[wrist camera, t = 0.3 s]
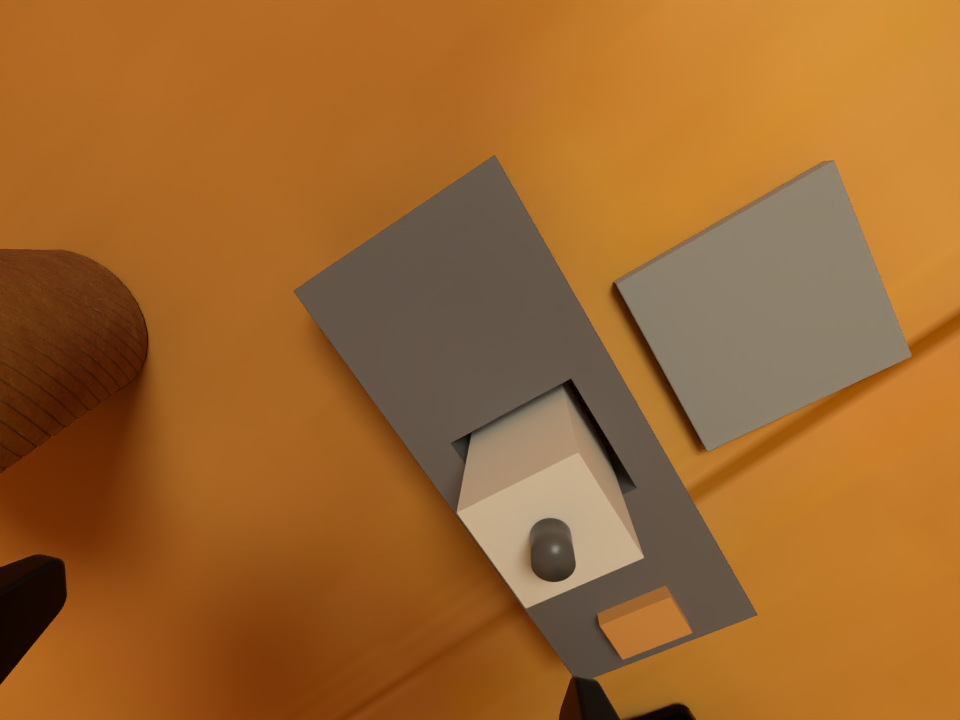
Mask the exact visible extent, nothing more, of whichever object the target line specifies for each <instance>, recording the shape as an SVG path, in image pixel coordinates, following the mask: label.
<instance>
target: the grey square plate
mask: <svg viewBox="0 0 960 720" xmlns="http://www.w3.org/2000/svg"><path fill="white" fill-rule="evenodd" d="M614 283H615V285H616V287H617V289H618V291H619V292H620V294H621V296H622V298H623V300H624V302H625V303H626V305H627V307H628V309H629V311H630V313H631V314H632V316H633V318H634V320H635V322H636V324H637V325H638V327H639V329H640V331H641V333H642V335H643V336H644V338H645V340H646V342H647V344H648V346H649V347H650V349H651V351H652V353H653V355H654V357H655V358H656V360H657V362H658V364H659V366H660V368H661V369H662V371H663V373H664V375H665V377H666V379H667V380H668V382H669V384H670V386H671V388H672V390H673V391H674V393H675V395H676V397H677V399H678V401H679V402H680V404H681V406H682V408H683V410H684V412H685V413H686V415H687V417H688V419H689V421H690V423H691V424H692V426H693V428H694V430H695V432H696V434H697V435H698V437H699V439H700V441H701V443H702V445H703V446H704V447H705V449H706V450H707V451H710V450H712V449H714V448H717V447H719V446H721V445H723V444H725V443H727V442H729V441H731V440H734V439H736V438H738V437H740V436H742V435H744V434H746V433H749V432H751V431H753V430H755V429H757V428H759V427H761V426H764V425H766V424H768V423H770V422H772V421H774V420H776V419H779V418H781V417H783V416H785V415H787V414H789V413H791V412H794V411H796V410H798V409H800V408H802V407H804V406H806V405H808V404H811V403H813V402H815V401H817V400H819V399H821V398H823V397H826V396H828V395H830V394H832V393H834V392H836V391H838V390H841V389H843V388H845V387H847V386H849V385H851V384H853V383H856V382H858V381H860V380H862V379H864V378H866V377H868V376H871V375H873V374H875V373H877V372H879V371H881V370H883V369H885V368H888V367H890V366H892V365H894V364H896V363H898V362H900V361H903V360H905V359H907V358H909V357H911V356H912V355H911V353H910V350H909V348H908V345H907V343H906V340H905V338H904V335H903V333H902V330H901V328H900V325H899V323H898V320H897V318H896V315H895V313H894V310H893V308H892V305H891V303H890V300H889V298H888V295H887V293H886V290H885V288H884V285H883V283H882V280H881V278H880V275H879V273H878V270H877V268H876V265H875V263H874V260H873V257H872V255H871V252H870V250H869V247H868V245H867V242H866V240H865V237H864V235H863V232H862V230H861V227H860V225H859V222H858V220H857V217H856V215H855V212H854V210H853V207H852V205H851V202H850V200H849V197H848V195H847V192H846V190H845V187H844V185H843V182H842V180H841V177H840V175H839V172H838V170H837V167H836V165H835V162H834V160H832V161H823V162H821V163H820V164H818V165H816V166H814V167H813V168H811V169H809V170H808V171H806V172H804V173H802V174H801V175H799V176H797V177H795V178H794V179H792V180H790V181H788V182H787V183H785V184H783V185H781V186H780V187H778V188H776V189H774V190H773V191H771V192H769V193H767V194H766V195H764V196H762V197H760V198H759V199H757V200H755V201H753V202H752V203H750V204H748V205H746V206H745V207H743V208H741V209H739V210H738V211H736V212H734V213H732V214H731V215H729V216H727V217H725V218H724V219H722V220H720V221H718V222H717V223H715V224H713V225H711V226H710V227H708V228H706V229H705V230H703V231H701V232H699V233H698V234H696V235H694V236H692V237H691V238H689V239H687V240H685V241H684V242H682V243H680V244H678V245H677V246H675V247H673V248H671V249H670V250H668V251H666V252H664V253H663V254H661V255H659V256H657V257H656V258H654V259H652V260H650V261H649V262H647V263H645V264H643V265H642V266H640V267H638V268H636V269H635V270H633V271H631V272H629V273H628V274H626V275H624V276H622V277H621V278H619V279H617V280H615V281H614Z"/></svg>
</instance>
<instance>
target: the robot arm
mask: <svg viewBox="0 0 960 720" xmlns="http://www.w3.org/2000/svg"><path fill="white" fill-rule="evenodd" d="M66 597H67V588H66V574H65V564H64V562H63V561H62V560H61V559H59V558H55V557H51V556H46V555H33V556H30V557H27V558H24V559H22V560H19V561H16V562H13V563H11V564H8V565H5V566H2V567H0V685H1V683H2V682H3V681H4V680H5V678H6V677H7V676H8V675H9V674H10V672H11V671H12V670H13V669H14V667H15V666H16V665H17V664H18V662H19V661H20V660H21V659H22V658H23V656H24V655H25V654H26V653H27V651H28V650H29V649H30V648H31V646H32V645H33V644H34V643H35V642H36V640H37V639H38V638H39V637H40V635H41V634H42V633H43V632H44V631H45V629H46V628H47V627H48V626H49V624H50V623H51V622H52V621H53V619H54V618H55V617H56V616H57V615H58V613H59V612H60V611H61V609H62V607H63V606H64V603H65V601H66ZM559 720H620V718H619V717H618V715H617V713H616V711H615V710H614V708H613V706H612V705H611V703H610V701H609V699H608V698H607V696H606V694H605V693H604V691H603V689H602V687H601V686H600V684H599V683H598V682H597V681H596V680H595V679H592V678H587V677H583V676H578V675H575V676H573V677H572V678H571V680H570V683H569V686H568V689H567V692H566V695H565V698H564V701H563V703H562V706H561V710H560V715H559ZM636 720H696V719H695V717H694V716H693V714H692V713H691V711H690V710H689V708H688V707H686V706H684V705H676V706H673V707H670V708H667V709H664V710H661V711H658V712H656V713H653V714H650V715H647V716H644V717H642V718H639V719H636Z"/></svg>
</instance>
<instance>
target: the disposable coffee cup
mask: <svg viewBox="0 0 960 720" xmlns="http://www.w3.org/2000/svg"><path fill="white" fill-rule="evenodd" d="M146 350H147V331H146V327H145V323H144V319H143V316H142V314H141V312H140V309H139V307H138V305H137V303H136V301H135V300H134V298H133V297H132V295H131V293H130V292H129V290H128V289H127V288H126V287H125V286H124V285H123V283H122V282H121V281H120V280H119V279H118V278H117V277H116V276H115V275H114V274H112V273H111V272H110V271H109V270H108V269H106V268H105V267H104V266H102V265H100V264H98V263H97V262H95V261H93V260H91V259H89V258H88V257H85V256H82V255H79V254H76V253H74V252H70V251H64V250H28V249H0V473H2V472H3V471H4V470H5V469H6V467H10V466H11V465H13V464H14V463H16V462H17V461H19V460H20V459H21V458H22V456H26V455H27V454H28V453H30V452H31V451H32V450H34V449H35V448H36V447H37V446H40V445H42V444H43V443H44V442H45V441H47V440H48V439H49V438H51V436H54V435H56V434H57V433H59V432H60V431H61V430H62V429H63V428H64V427H67V426H68V425H70V424H71V423H72V422H73V421H75V420H76V418H80V417H81V416H82V415H84V414H85V413H86V412H87V411H88V410H91V409H93V408H94V407H95V406H96V405H98V404H99V402H102V401H104V400H105V399H106V398H108V397H109V396H110V395H112V394H114V393H115V392H117V391H118V390H119V389H121V388H123V387H125V386H126V385H127V384H128V383H129V382H131V381H132V380H133V379H134V378H135V377H136V375H137V374H138V373H139V371H140V370H141V367H142V365H143V362H144V360H145V357H146Z"/></svg>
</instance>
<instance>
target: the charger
mask: <svg viewBox="0 0 960 720" xmlns="http://www.w3.org/2000/svg"><path fill="white" fill-rule="evenodd" d="M457 514H458V515H459V517H460V518H461V520H462V521H463V522H464V524H465V525H466V527H467V528H468V529H469V531H470V532H471V533H472V535H473V536H474V538H475V539H476V540H477V542H478V543H479V545H480V546H481V547H482V549H483V550H484V551H485V553H486V554H487V556H488V557H489V558H490V560H491V561H492V562H493V564H494V565H495V567H496V568H497V569H498V571H499V572H500V574H501V575H502V576H503V578H504V579H505V580H506V582H507V583H508V585H509V586H510V587H511V589H512V590H513V591H514V593H515V594H516V596H517V597H518V598H519V600H520V601H521V603H522V604H523V605H524V607H525V608H529V607H531V606H533V605H536V604H538V603H540V602H542V601H545V600H547V599H549V598H552V597H554V596H556V595H559V594H561V593H563V592H566V591H568V590H570V589H573V588H575V587H577V586H580V585H582V584H584V583H587V582H589V581H591V580H594V579H596V578H598V577H601V576H603V575H605V574H608V573H610V572H612V571H615V570H617V569H619V568H622V567H624V566H626V565H629V564H631V563H633V562H636V561H638V560H640V559H643V558H644V556H643V553H642V550H641V547H640V544H639V541H638V539H637V536H636V533H635V530H634V527H633V524H632V521H631V519H630V516H629V513H628V510H627V507H626V504H625V501H624V499H623V496H622V493H621V490H620V487H619V484H618V481H617V479H616V476H615V473H614V470H613V467H612V464H611V461H610V459H609V456H608V453H607V450H606V447H605V444H604V443H603V441H602V439H601V438H600V436H599V434H598V433H597V431H596V429H595V428H594V426H593V424H592V423H591V421H590V419H589V418H588V416H587V414H586V413H585V411H584V410H583V408H582V406H581V405H580V403H579V401H578V400H577V398H576V396H575V395H574V393H573V391H572V390H571V388H570V386H569V385H568V383H567V381H565V382H564V383H562V384H560V385H558V386H556V387H554V388H552V389H550V390H549V391H547V392H545V393H543V394H541V395H539V396H537V397H536V398H534V399H532V400H530V401H528V402H526V403H524V404H522V405H521V406H519V407H517V408H515V409H513V410H511V411H509V412H508V413H506V414H504V415H502V416H500V417H498V418H496V419H495V420H493V421H491V422H489V423H487V424H485V425H483V426H481V427H480V428H478V429H476V430H474V431H472V434H471V439H470V444H469V450H468V455H467V460H466V465H465V471H464V476H463V481H462V487H461V492H460V497H459V502H458V508H457Z"/></svg>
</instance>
